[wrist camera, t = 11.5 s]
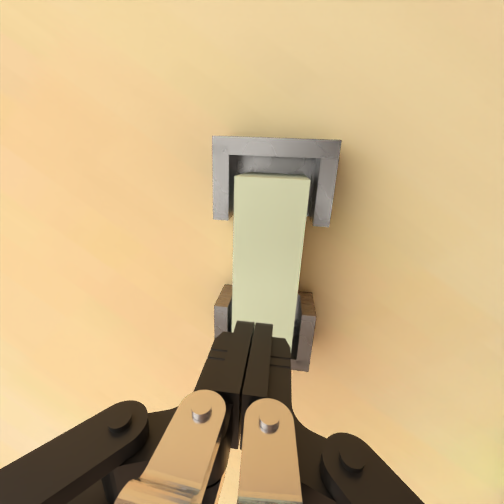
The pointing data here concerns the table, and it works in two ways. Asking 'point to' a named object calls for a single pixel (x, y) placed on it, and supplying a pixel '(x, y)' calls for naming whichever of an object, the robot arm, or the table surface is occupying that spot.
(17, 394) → the table surface
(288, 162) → the end cap
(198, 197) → the table surface
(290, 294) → the slat
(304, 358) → the end cap
